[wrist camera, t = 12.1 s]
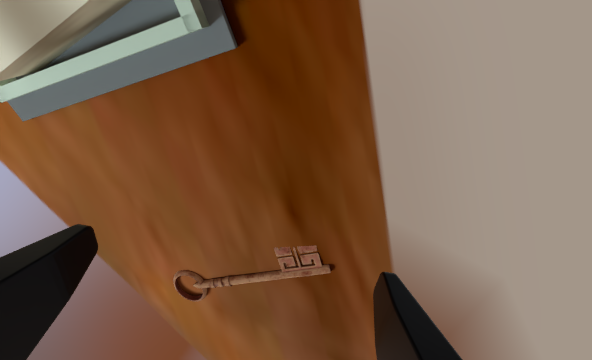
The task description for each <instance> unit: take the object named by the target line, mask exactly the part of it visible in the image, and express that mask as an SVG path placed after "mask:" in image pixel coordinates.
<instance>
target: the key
mask: <svg viewBox="0 0 592 360" xmlns="http://www.w3.org/2000/svg"><path fill="white" fill-rule="evenodd" d="M297 248H298V251H299V253H306V252H313V251H318V250H317V247H316V246H300V247H297ZM274 250H275V253H276V256H285V255H292V252H291V249H290V247H280V249H278V248H274ZM293 250H294V253H295V257H296V260H297V263H298V266H296V263H295V260H294V258H293V256H288V257H281V258H278V261H279V264H280V267H281V270H278V271H270V272H262V273H254V274H246V275H238V276H230V277H229V276H227V277H225V278H222V277H221V278H218V279H214V278H213V279H210V280H203V279H202V278H201V277H200V276H199V275H197V274H196V273H194V272H191V271H188V270H181V271H178V272H177V273H176V274H175V275H174V279H173V282H174V286H175V288H176V290H177V291H178V293H179V294H180V295H181V296H182V297H184V298H186V299H188V300H190V301H200V300H202V299H203V298H205V296H206V294H207V288H208V287H212V288H215V287H217V286H219V287H223V286H232V285H237V284H245V283H253V282H261V281H269V280H277V279H285V278H293V277H301V276H309V275H317V274H325V273H331V270H330V266H329V264H327V265H322V264H321V260H320V257H319V254H318V253H311V254H303V255H300V257H301V260H302V264H303V265H305V266H301V264H300V261H299V258H298V255H297V253H296V250H295V247H293ZM311 259H313V260H314V263H315V264H313V265H306V264H312V261H311ZM284 263H286V266H287V268H285V266H284ZM291 266H295V267H291ZM182 275H186V276H190V277H192V278H194V279H195V280H196V281H198V282H197V283H195V284H194V285H193V286H194V287H198V288H202V290H203V294H202V295H199V296H194V295H190V294H188V293H186V292H184V291H183V290H182V289H181V288H180V287H179V286H178V284H177V277H179V276H182Z"/></svg>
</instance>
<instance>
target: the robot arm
mask: <svg viewBox="0 0 592 360" xmlns="http://www.w3.org/2000/svg"><path fill="white" fill-rule="evenodd" d="M97 250H98V243H97V240H96V237H95V233H94V230H93V228H92V227H91V226H87V225H80V224H77V225H74V226H71V227H69V228H67V229H65V230H62V231H60V232H58V233H55V234H53V235H51V236H49V237H46V238H44V239H42V240H39V241H37V242H35V243H33V244H30V245H28V246H26V247H23V248H21V249H19V250H17V251H14V252H12V253H9V254H7V255H5V256H3V257H0V360H26V359H27V358H28V357H29V355H30V354H31V352H32V351H33V350H34V348H35V347H36V345H37V344H38V343H39V341H40V340H41V338H42V337H43V336H44V334H45V333H46V331H47V330H48V329H49V327H50V326H51V324H52V323H53V322H54V320H55V319H56V318H57V316H58V315H59V313H60V312H61V311H62V309H63V308H64V306H65V305H66V303H67V302H68V301H69V299H70V297H71V296H72V294H73V293H74V291H75V289H76V288H77V286H78V284H79V282H80V281H81V279H82V277H83V276H84V274H85V272H86V270H87V269H88V267H89V265H90V264H91V262H92V260H93V258H94V256H95V255H96V253H97ZM373 300H374V327H375V347H376V355H377V360H462V359H461V357H460V356H459V355H458V354H457V352H456V351H455V350H454V348H453V347H452V346H451V345H450V343H449V342H448V341H447V339H446V338H445V337H444V335H443V334H442V333H441V332H440V330H439V329H438V328H437V327H436V325H435V324H434V323H433V321H432V320H431V319H430V318H429V316H428V315H427V314H426V312H425V311H424V310H423V308H422V307H421V306H420V305H419V303H418V302H417V301H416V299H415V298H414V297H413V296H412V294H411V293H410V292H409V290H407V288H406V287H405V285H404V284H403V283H402V281H401V280H400V279H399V278H398V276H397V275H396V274H394V273H388V272H382V273H381V274H380V276H379V278H378V281H377V283H376V286H375V289H374V294H373Z"/></svg>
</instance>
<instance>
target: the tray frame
mask: <svg viewBox="0 0 592 360" xmlns="http://www.w3.org/2000/svg"><path fill="white" fill-rule="evenodd" d="M174 2H175V4H176V6H177V8H178V11H179V13H180V15H181V17H179V18H176V19H173V20H171V21H168V22H166V23H163V24H160V25H158V26H155V27H153V28H150V29H148V30H145V31H142V32H140V33H137V34H135V35H132V36H130V37H127V38H124V39H122V40H119V41H117V42H114V43H112V44H109V45H106V46H104V47H101V48H99V49H96V50H93V51H91V52H88V53H86V54H83V55H81V56H78V57H75V58H73V59H70V60H68V61H65V62H63V63H60V64H57V65H55V66H52V67H50V68H47V69H44V70H42V71H39V72H37V73H34V74H32V75H29V76H26V77H24V78H21V79H19V80H17V79H16V78H15V77H14V78H10V79H7V80H3V81H0V102H1V103H2V102H5V101H8V100H11V99H14V98H17V97H20V96H23V95H25V94H28V93H31V92H33V91H36V90H39V89H42V88H44V87H47V86H50V85H52V84H55V83H58V82H60V81H63V80H66V79H69V78H71V77H74V76H77V75H79V74H82V73H85V72H87V71H90V70H93V69H96V68H98V67H101V66H104V65H106V64H109V63H112V62H114V61H117V60H120V59H123V58H125V57H128V56H131V55H133V54H136V53H139V52H141V51H144V50H147V49H150V48H152V47H155V46H158V45H160V44H163V43H166V42H168V41H171V40H174V39H177V38H179V37H182V36H185V35H187V34H190V33H193V32H195V31H198V30H201V29H204V28H206V27H209V24H208V21H207V19H206V16H205V14H204V11H203V9H202V6H201V4H200V1H199V0H174Z"/></svg>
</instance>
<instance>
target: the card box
mask: <svg viewBox="0 0 592 360" xmlns="http://www.w3.org/2000/svg"><path fill="white" fill-rule="evenodd" d="M130 1H132V0H0V81H3V80H7V79H10V78H14V77H18V76H22V75H26V74H30V73H34V72H38V71H40V70H41V69H43V68H44V67H45V66H47V65H48V64H49V63H50V62H52V61H53V60H54V59H56V58H57V57H58V56H60V55H61V54H62V53H64V52H65V51H66V50H67V49H69V48H70V47H71V46H73V45H74V44H75V43H77V42H78V41H79V40H81V39H82V38H83V37H84V36H86V35H87V34H88V33H90V32H91V31H92V30H94V29H95V28H96V27H98V26H99V25H100V24H101V23H103V22H104V21H105V20H107V19H108V18H109V17H111V16H112V15H113V14H115V13H116V12H117V11H118V10H120V9H121V8H122V7H124V6H125V5H126V4H128V3H129V2H130Z"/></svg>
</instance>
